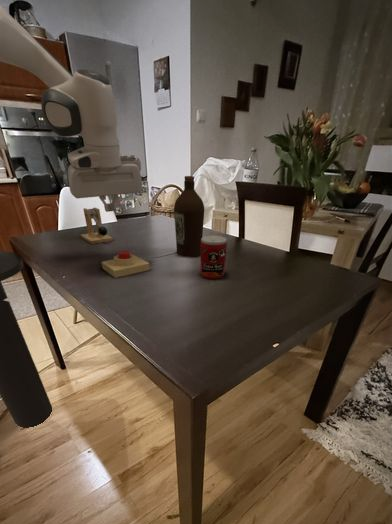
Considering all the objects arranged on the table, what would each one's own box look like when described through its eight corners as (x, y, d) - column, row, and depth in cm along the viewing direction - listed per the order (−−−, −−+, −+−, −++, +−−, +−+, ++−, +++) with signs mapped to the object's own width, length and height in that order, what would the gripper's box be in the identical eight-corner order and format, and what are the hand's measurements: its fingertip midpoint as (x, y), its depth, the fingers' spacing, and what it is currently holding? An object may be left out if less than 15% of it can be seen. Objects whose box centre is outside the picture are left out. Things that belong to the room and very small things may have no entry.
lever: (108, 236, 114) (109, 230, 111) (100, 238, 112) (100, 231, 110) (94, 214, 117) (94, 207, 115) (86, 215, 116) (86, 208, 113)
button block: (115, 277, 86) (113, 265, 84) (102, 268, 92) (100, 256, 90) (149, 269, 92) (148, 257, 90) (135, 261, 98) (134, 249, 96)
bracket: (112, 240, 119) (107, 210, 112) (91, 244, 114) (85, 212, 108) (101, 234, 127) (96, 205, 120) (81, 237, 122) (75, 207, 115)
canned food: (199, 279, 86) (200, 242, 80) (200, 269, 93) (201, 234, 86) (224, 280, 86) (227, 243, 80) (223, 270, 93) (226, 235, 86)
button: (121, 260, 88) (121, 255, 87) (116, 257, 90) (116, 252, 89) (132, 258, 90) (131, 253, 89) (127, 255, 92) (126, 250, 91)
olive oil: (194, 247, 113) (195, 174, 98) (208, 255, 105) (211, 177, 91) (170, 251, 109) (167, 175, 94) (182, 259, 101) (181, 178, 86)
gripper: (135, 152, 81) (138, 203, 91) (61, 154, 73) (73, 210, 83) (144, 157, 77) (146, 210, 87) (66, 161, 69) (79, 218, 79)
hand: (110, 210), depth 85 cm, fingers closed
